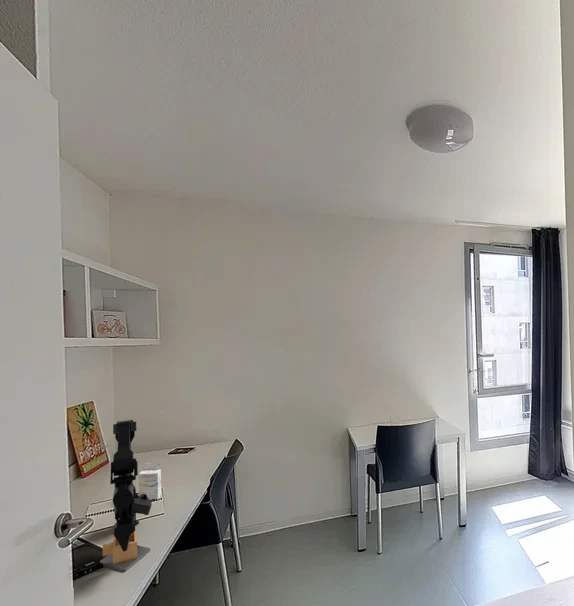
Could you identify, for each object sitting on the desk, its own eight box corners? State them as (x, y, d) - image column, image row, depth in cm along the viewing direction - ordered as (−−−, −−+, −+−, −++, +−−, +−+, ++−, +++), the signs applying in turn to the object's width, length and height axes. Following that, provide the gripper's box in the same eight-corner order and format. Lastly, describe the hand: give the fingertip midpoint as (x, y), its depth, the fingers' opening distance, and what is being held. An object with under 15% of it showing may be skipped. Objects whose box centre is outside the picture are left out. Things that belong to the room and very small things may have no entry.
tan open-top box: (103, 554, 125) (103, 538, 125) (136, 546, 129) (136, 531, 130) (102, 566, 119) (102, 550, 119) (137, 557, 123) (136, 541, 123)
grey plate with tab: (125, 545, 132) (124, 532, 132) (150, 551, 128) (149, 537, 128) (99, 564, 121) (98, 550, 122) (125, 571, 117) (125, 556, 118)
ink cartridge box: (138, 501, 165) (138, 467, 166) (142, 495, 170) (141, 462, 171) (158, 499, 166) (157, 465, 167) (161, 494, 171) (160, 461, 172)
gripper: (151, 501, 120) (152, 551, 119) (148, 480, 137) (149, 524, 136) (113, 509, 116) (114, 561, 115) (114, 486, 133) (115, 532, 132)
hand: (125, 543), depth 125 cm, fingers open, 9 cm apart
